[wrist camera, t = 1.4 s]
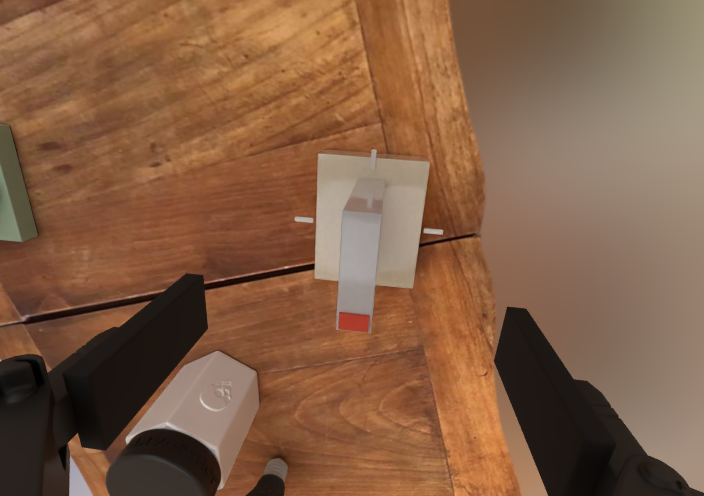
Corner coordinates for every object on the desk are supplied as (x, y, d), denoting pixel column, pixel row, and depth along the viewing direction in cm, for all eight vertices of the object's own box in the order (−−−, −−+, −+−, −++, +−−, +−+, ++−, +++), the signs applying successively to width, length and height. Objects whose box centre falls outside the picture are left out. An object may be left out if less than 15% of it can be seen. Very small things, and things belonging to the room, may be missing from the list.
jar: (277, 379, 38) (229, 492, 27) (244, 427, 41) (189, 547, 30) (199, 336, 37) (117, 435, 26) (171, 388, 40) (86, 497, 29)
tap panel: (305, 139, 29) (295, 143, 26) (448, 150, 28) (455, 155, 25) (303, 268, 33) (294, 284, 30) (428, 281, 32) (432, 298, 30)
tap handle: (357, 178, 27) (341, 211, 18) (385, 180, 27) (382, 215, 18) (352, 266, 29) (335, 332, 21) (377, 268, 29) (370, 336, 21)
